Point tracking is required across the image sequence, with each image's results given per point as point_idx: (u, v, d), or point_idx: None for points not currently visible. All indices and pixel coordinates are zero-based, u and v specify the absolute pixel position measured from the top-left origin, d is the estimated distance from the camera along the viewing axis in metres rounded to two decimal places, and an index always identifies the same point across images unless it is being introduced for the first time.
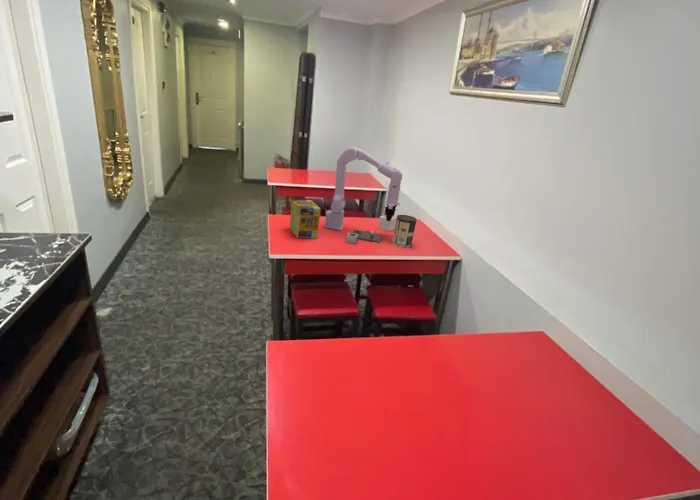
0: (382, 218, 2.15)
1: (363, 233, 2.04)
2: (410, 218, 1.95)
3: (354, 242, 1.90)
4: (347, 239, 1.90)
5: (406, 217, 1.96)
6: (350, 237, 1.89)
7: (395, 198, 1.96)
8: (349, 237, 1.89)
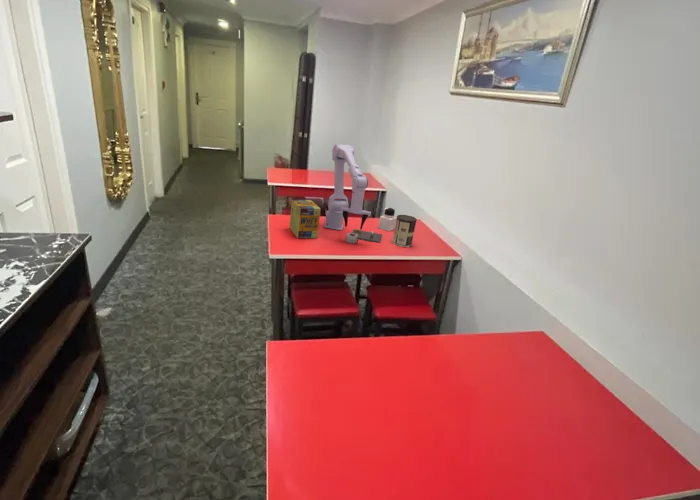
0: (382, 218, 2.15)
1: (363, 233, 2.04)
2: (410, 218, 1.95)
3: (354, 242, 1.90)
4: (347, 239, 1.90)
5: (406, 217, 1.96)
6: (350, 237, 1.89)
7: (351, 204, 1.84)
8: (349, 237, 1.89)
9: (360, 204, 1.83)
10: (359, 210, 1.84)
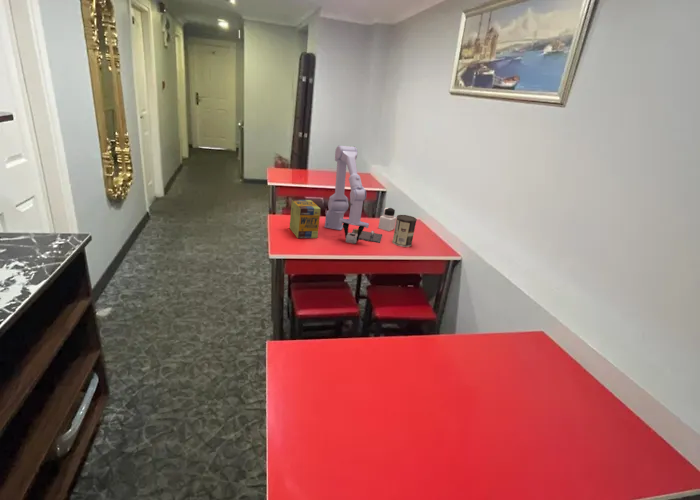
0: (382, 218, 2.15)
1: (363, 233, 2.04)
2: (410, 218, 1.95)
3: (354, 242, 1.90)
4: (347, 239, 1.90)
5: (406, 217, 1.96)
6: (350, 237, 1.89)
7: (349, 216, 1.87)
8: (349, 237, 1.89)
9: (358, 216, 1.85)
10: (357, 222, 1.86)
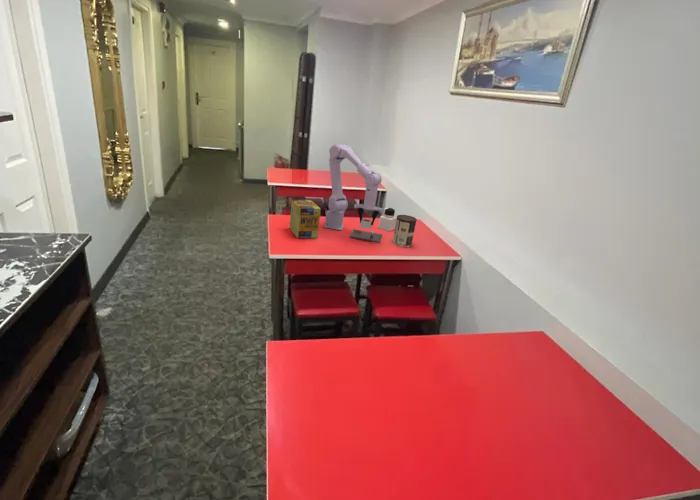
0: (382, 218, 2.15)
1: (363, 233, 2.04)
2: (410, 218, 1.95)
3: (368, 227, 1.93)
4: (361, 224, 1.93)
5: (406, 217, 1.96)
6: (364, 222, 1.92)
7: (364, 201, 1.90)
8: (364, 222, 1.92)
9: (373, 201, 1.88)
10: (372, 207, 1.89)
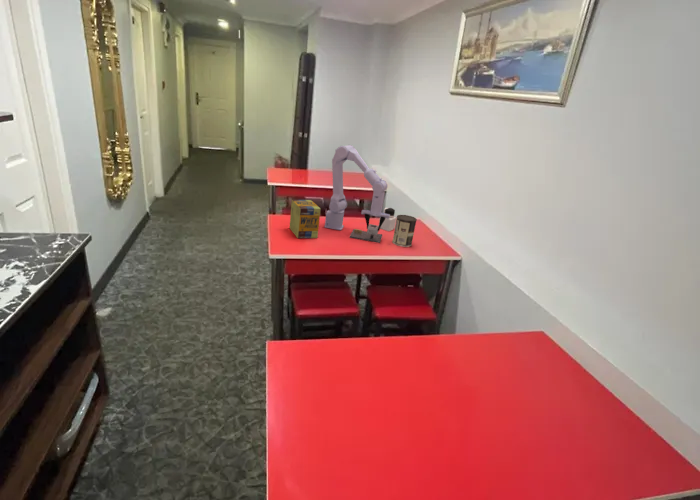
0: None
1: (363, 233, 2.04)
2: (410, 218, 1.95)
3: (375, 233, 1.97)
4: (368, 230, 1.98)
5: (406, 217, 1.96)
6: (371, 228, 1.97)
7: (371, 207, 1.94)
8: (370, 228, 1.97)
9: (380, 207, 1.93)
10: (379, 213, 1.94)
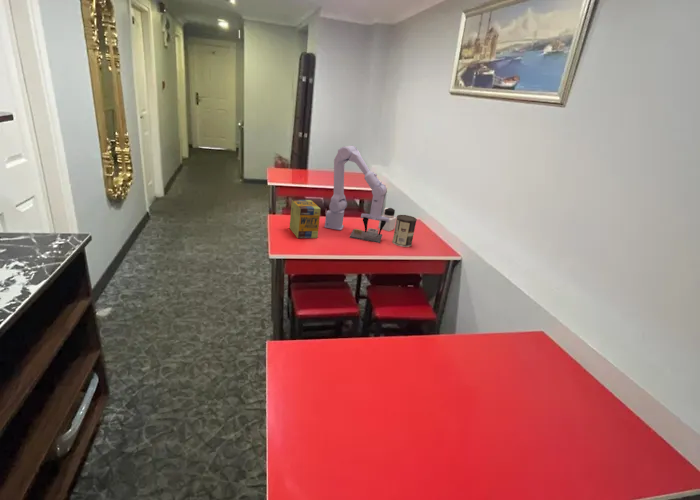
0: None
1: (363, 233, 2.04)
2: (410, 218, 1.95)
3: (375, 237, 1.98)
4: (368, 234, 1.98)
5: (406, 217, 1.96)
6: (371, 232, 1.98)
7: (371, 211, 1.95)
8: (370, 232, 1.98)
9: (379, 211, 1.94)
10: (378, 217, 1.95)
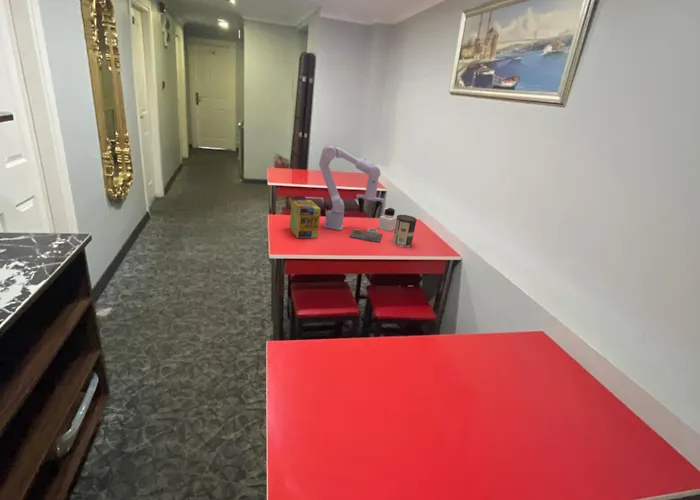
0: (382, 218, 2.15)
1: (363, 233, 2.04)
2: (410, 218, 1.95)
3: (375, 237, 1.98)
4: (368, 234, 1.98)
5: (406, 217, 1.96)
6: (371, 232, 1.98)
7: (366, 191, 2.02)
8: (370, 232, 1.98)
9: (374, 191, 2.01)
10: (373, 197, 2.02)
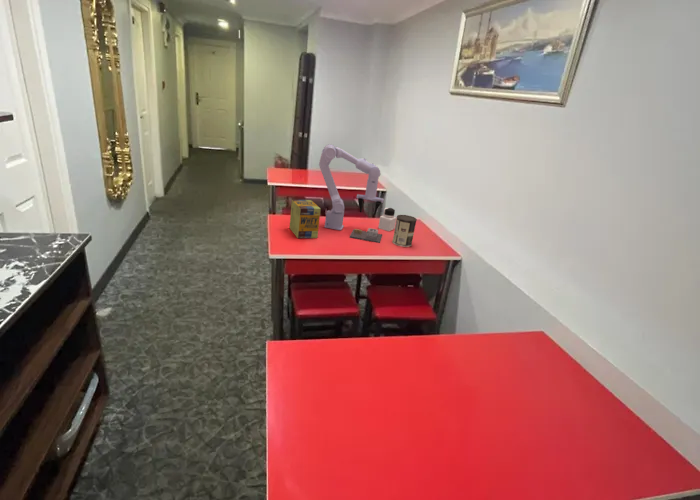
0: (382, 218, 2.15)
1: (363, 233, 2.04)
2: (410, 218, 1.95)
3: (375, 237, 1.98)
4: (368, 234, 1.98)
5: (406, 217, 1.96)
6: (371, 232, 1.98)
7: (366, 191, 2.02)
8: (370, 232, 1.98)
9: (374, 191, 2.01)
10: (373, 197, 2.02)
